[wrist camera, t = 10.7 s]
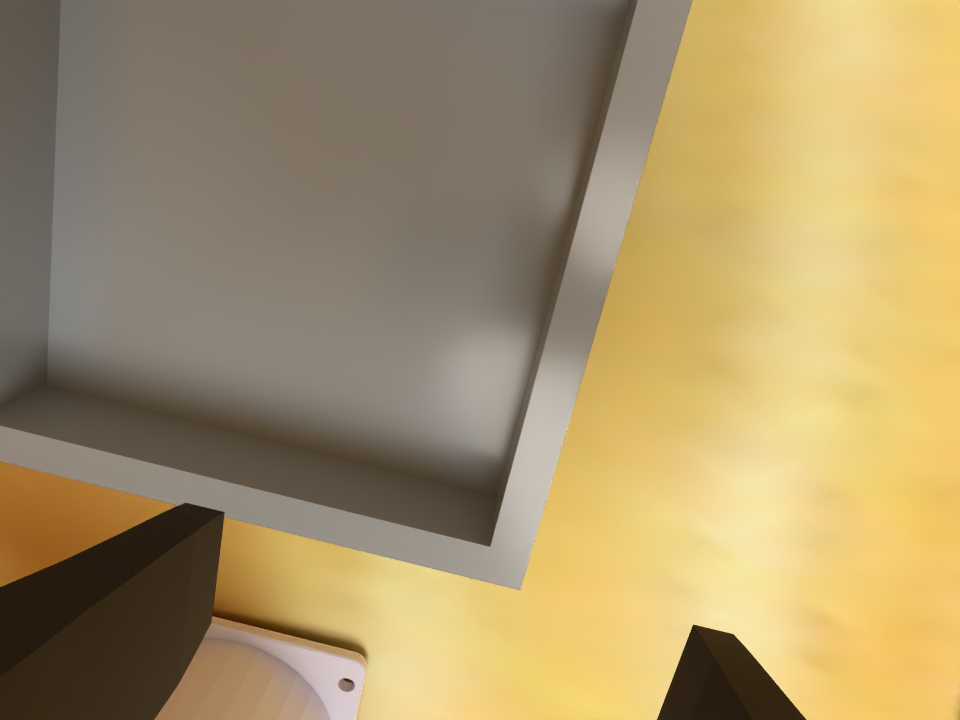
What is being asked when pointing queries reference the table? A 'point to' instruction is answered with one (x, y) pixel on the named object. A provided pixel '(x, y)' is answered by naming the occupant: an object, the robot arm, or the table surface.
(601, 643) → the table surface
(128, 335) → the dish
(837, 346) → the table surface
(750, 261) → the table surface
